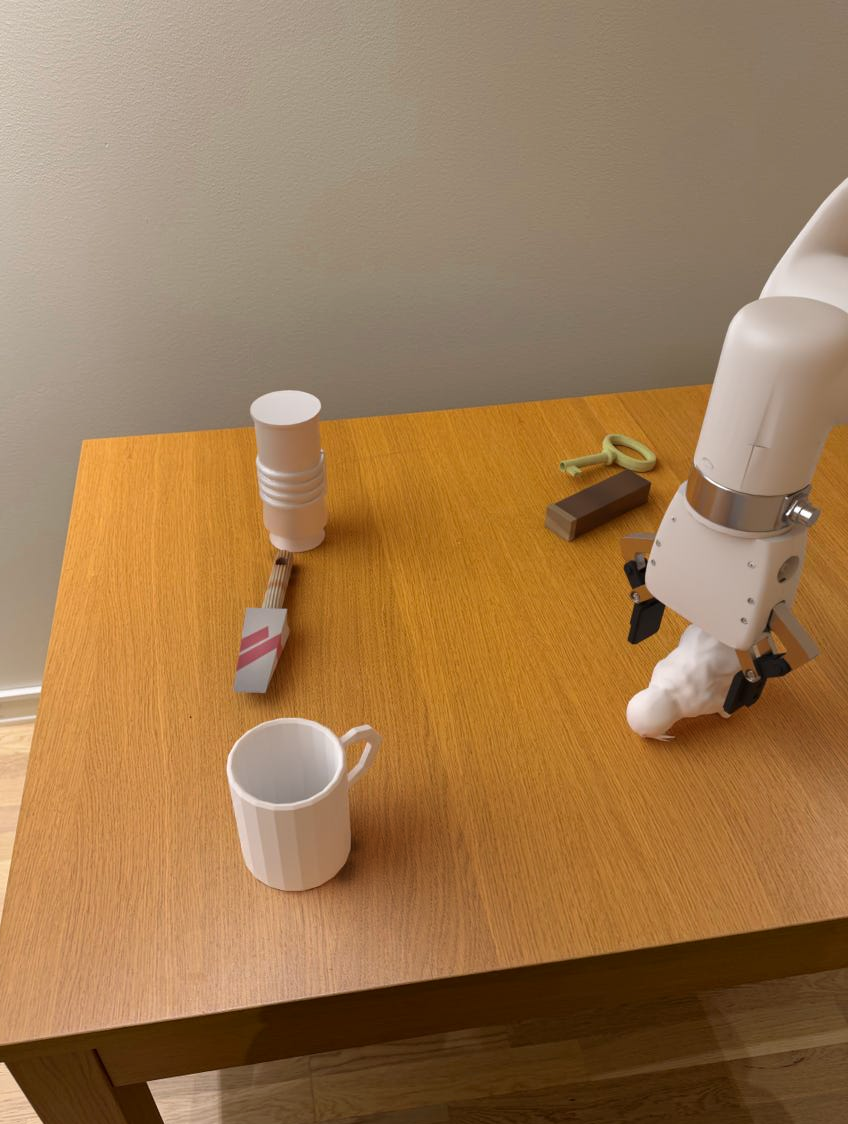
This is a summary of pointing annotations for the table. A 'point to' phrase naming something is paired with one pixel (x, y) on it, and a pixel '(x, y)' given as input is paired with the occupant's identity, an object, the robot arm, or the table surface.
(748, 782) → the table surface
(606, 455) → the key
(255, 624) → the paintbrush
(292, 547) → the white ribbed cylinder
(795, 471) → the robot arm
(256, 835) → the mug
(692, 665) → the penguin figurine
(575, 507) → the walnut bar
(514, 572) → the table surface
